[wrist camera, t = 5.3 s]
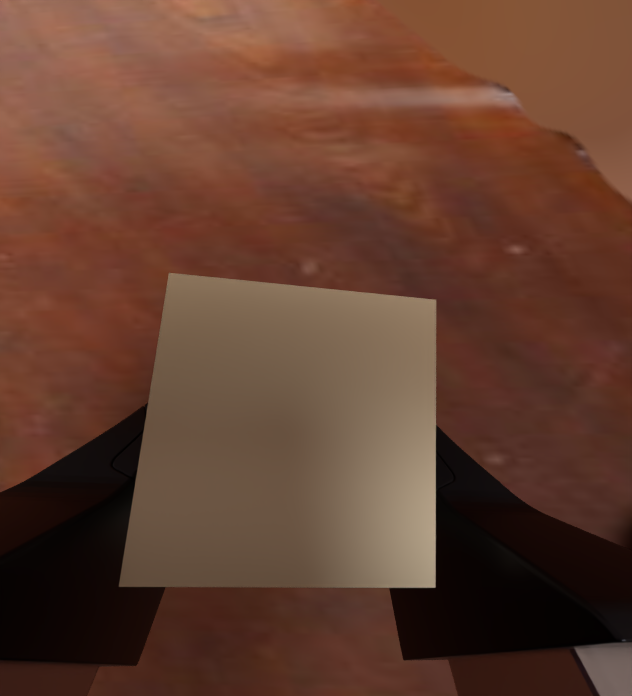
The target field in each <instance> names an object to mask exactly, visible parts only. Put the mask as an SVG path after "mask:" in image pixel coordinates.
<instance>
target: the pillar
mask: <svg viewBox="0 0 632 696" xmlns="http://www.w3.org/2000/svg"><path fill="white" fill-rule="evenodd" d="M119 587H333V588H436V300H432V299H422V298H412V297H402V296H392V295H382V294H373V293H363V292H353V291H343V290H333V289H323V288H313V287H303V286H293V285H283V284H273V283H264V282H254V281H244V280H234V279H224V278H214V277H204V276H194V275H184V274H174V273H169V277H168V283H167V289H166V295H165V302H164V308H163V314H162V320H161V327H160V333H159V339H158V345H157V351H156V358H155V364H154V370H153V376H152V383H151V389H150V395H149V401H148V407H147V414H146V420H145V426H144V432H143V439H142V445H141V451H140V457H139V463H138V470H137V476H136V482H135V488H134V495H133V501H132V507H131V513H130V519H129V526H128V532H127V538H126V544H125V551H124V557H123V563H122V569H121V576H120V582H119Z"/></svg>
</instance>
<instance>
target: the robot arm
mask: <svg viewBox="0 0 632 696" xmlns="http://www.w3.org/2000/svg"><path fill="white" fill-rule="evenodd" d="M147 407H148V403H147V404H145V407H144V406H143V407H141V408H140V409H138V410H137V411H135V412H134V413H133V414H131V415H130V416H128V417H127V418H125V419H124V420H122V421H121V422H120V423H118V424H117V425H115V426H114V427H112V428H111V429H109V430H107V431H106V432H104V433H103V434H101V435H99V436H98V437H96V438H95V439H93V440H92V441H90V442H88V443H87V444H85V445H83V446H82V447H80V448H79V449H77V450H75V451H74V452H72V453H70V454H69V455H67V456H65V457H64V458H62V459H61V460H59V461H57V462H56V463H54V464H52V465H51V466H49V467H47V468H46V469H44V470H43V471H41V472H39V473H38V474H36V475H34V476H33V477H31V478H29V479H27V480H26V481H24V482H22V483H20V484H18V485H16V486H14V487H11V488H9V489H7V490H5V491H2V492H0V696H87V695H88V692H89V690H90V687H91V685H92V683H93V680H94V678H95V676H96V673H97V671H98V668H99V667H102V666H136V665H137V664H138V661H139V659H140V656H141V654H142V651H143V648H144V645H145V643H146V640H147V637H148V634H149V632H150V629H151V626H152V623H153V620H154V618H155V615H156V612H157V609H158V607H159V604H160V601H161V598H162V595H163V593H164V590H165V587H119V582H120V576H121V569H122V563H123V557H124V551H125V544H126V538H127V532H128V526H129V519H130V513H131V507H132V501H133V495H134V488H135V482H136V476H137V470H138V463H139V457H140V451H141V445H142V439H143V432H144V426H145V420H146V414H147ZM389 589H390V594H391V599H392V605H393V610H394V615H395V620H396V625H397V631H398V636H399V641H400V646H401V651H402V656H403V660H448V661H449V665H450V668H451V672H452V676H453V679H454V683H455V686H456V690H457V694H458V696H632V550H629V549H627V548H624V547H622V546H620V545H617V544H615V543H613V542H610V541H608V540H605V539H603V538H601V537H598V536H596V535H594V534H591V533H589V532H586V531H584V530H582V529H579V528H577V527H574V526H572V525H570V524H567V523H565V522H563V521H560V520H558V519H555V518H553V517H551V516H548V515H546V514H544V513H542V512H540V511H538V510H536V509H534V508H533V507H531V506H529V505H528V504H526V503H525V502H523V501H522V500H521V499H519V498H518V497H517V496H515V495H514V494H513V493H512V492H510V491H509V490H508V489H507V488H506V487H505V486H503V485H502V484H501V483H500V482H499V481H498V480H497V479H495V478H494V477H493V476H492V475H491V474H490V473H488V472H487V471H486V470H485V469H484V468H483V467H481V466H480V465H479V464H478V463H477V462H476V461H474V460H473V459H472V458H471V457H470V456H469V455H468V454H466V453H465V452H464V451H463V450H462V449H461V448H460V447H459V446H457V445H456V444H455V443H454V442H453V441H452V440H451V439H450V438H449V437H448V436H447V435H446V434H445V433H444V432H443V431H442V430H441V429H440V428H439V427H438V426H437V425H436V588H389Z"/></svg>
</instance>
